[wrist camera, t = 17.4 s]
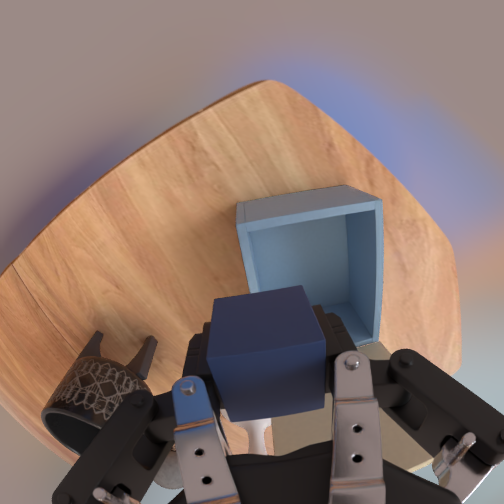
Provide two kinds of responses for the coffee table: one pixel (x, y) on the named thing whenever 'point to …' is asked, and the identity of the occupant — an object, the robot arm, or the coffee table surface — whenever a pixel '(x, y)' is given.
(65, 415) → the planter
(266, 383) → the block
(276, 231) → the light blue open box
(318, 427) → the lid
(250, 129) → the coffee table surface
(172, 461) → the decorative ball
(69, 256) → the coffee table surface
